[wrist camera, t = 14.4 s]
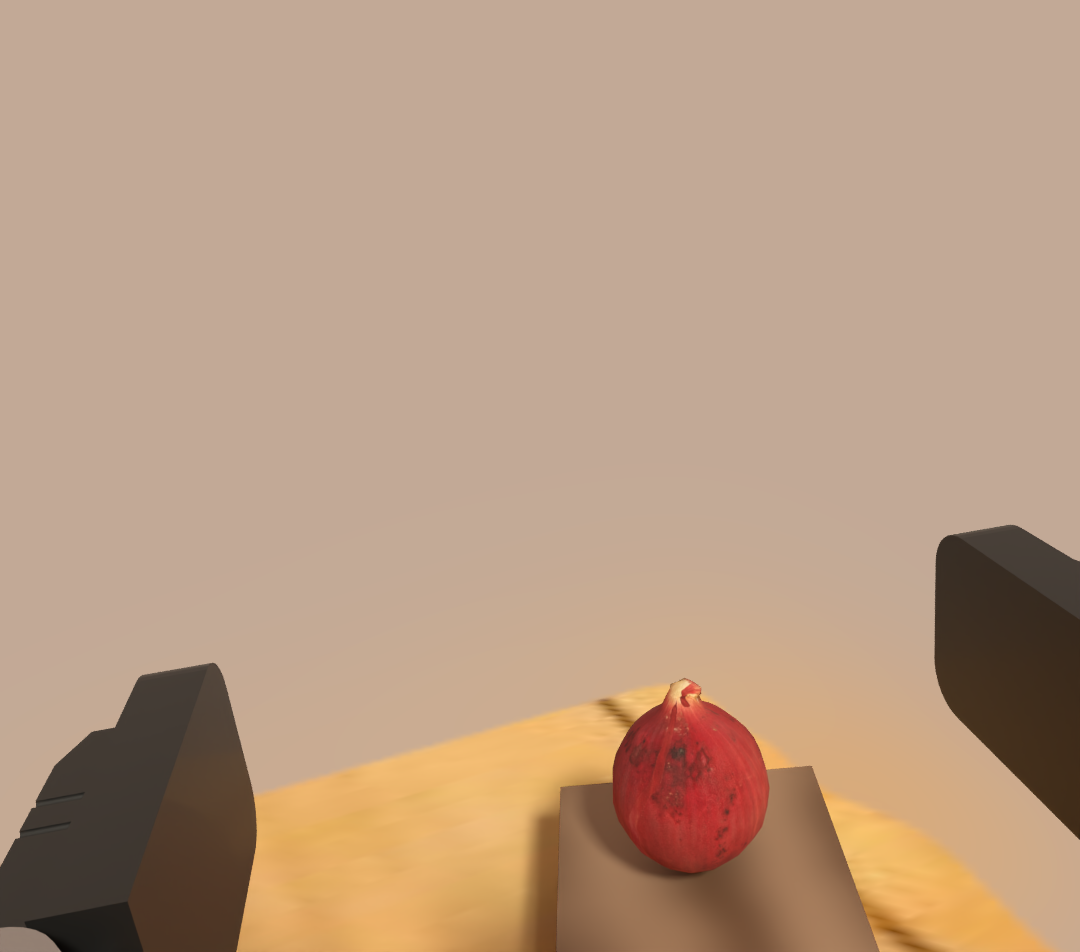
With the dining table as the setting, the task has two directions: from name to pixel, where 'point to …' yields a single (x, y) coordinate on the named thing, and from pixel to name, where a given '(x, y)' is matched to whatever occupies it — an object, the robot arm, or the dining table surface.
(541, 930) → the dining table surface
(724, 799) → the onion
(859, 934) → the walnut block
